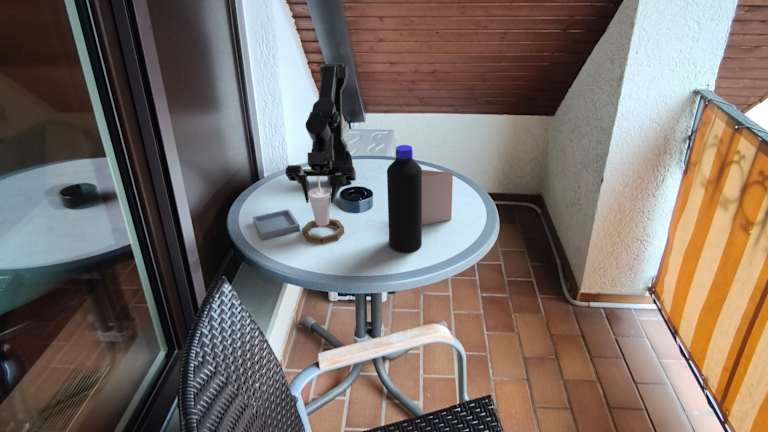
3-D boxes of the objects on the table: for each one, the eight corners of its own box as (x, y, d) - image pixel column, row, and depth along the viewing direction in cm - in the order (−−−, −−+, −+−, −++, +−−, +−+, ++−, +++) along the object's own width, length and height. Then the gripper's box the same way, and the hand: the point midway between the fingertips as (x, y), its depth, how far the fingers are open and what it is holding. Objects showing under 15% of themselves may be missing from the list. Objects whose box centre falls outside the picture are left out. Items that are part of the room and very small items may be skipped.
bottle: (425, 238, 149) (426, 143, 136) (416, 255, 142) (416, 156, 129) (395, 234, 152) (392, 140, 139) (384, 250, 145) (381, 152, 131)
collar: (335, 220, 160) (334, 215, 159) (348, 237, 151) (348, 232, 150) (299, 229, 156) (298, 223, 155) (310, 247, 147) (310, 241, 146)
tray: (289, 214, 164) (288, 209, 163) (300, 230, 155) (299, 224, 154) (253, 223, 160) (252, 217, 159) (262, 240, 151) (261, 233, 150)
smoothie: (335, 217, 154) (331, 172, 148) (331, 228, 149) (327, 183, 142) (313, 217, 155) (308, 172, 148) (308, 228, 149) (303, 182, 143)
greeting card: (451, 218, 159) (453, 171, 152) (446, 230, 153) (448, 182, 146) (414, 213, 162) (414, 167, 155) (407, 225, 156) (407, 178, 149)
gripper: (282, 137, 144) (278, 193, 140) (351, 137, 143) (349, 193, 139) (292, 153, 155) (288, 205, 151) (356, 153, 154) (354, 206, 150)
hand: (319, 202), depth 147 cm, fingers closed on smoothie, 6 cm apart
